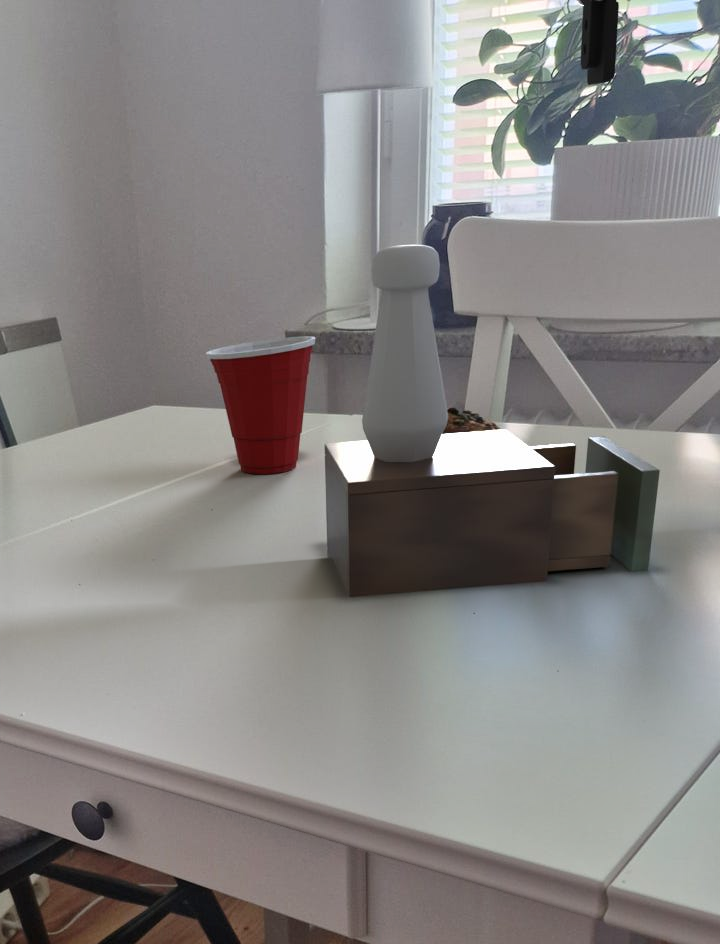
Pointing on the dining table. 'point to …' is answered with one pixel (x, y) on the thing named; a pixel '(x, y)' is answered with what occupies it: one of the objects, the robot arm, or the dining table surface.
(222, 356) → the plastic cup
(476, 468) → the cabinet
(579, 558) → the drawer
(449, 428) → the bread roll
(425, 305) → the salt shaker
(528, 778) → the dining table surface
